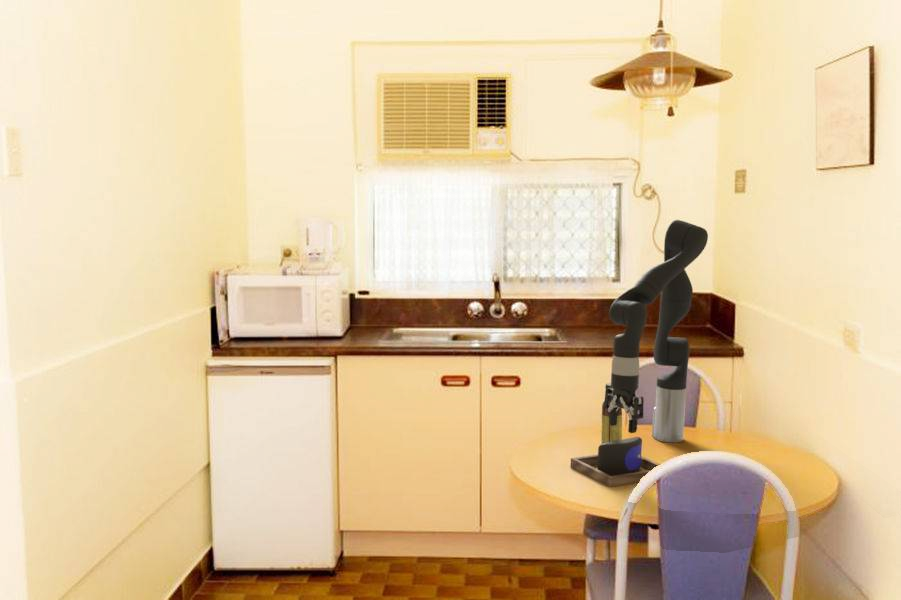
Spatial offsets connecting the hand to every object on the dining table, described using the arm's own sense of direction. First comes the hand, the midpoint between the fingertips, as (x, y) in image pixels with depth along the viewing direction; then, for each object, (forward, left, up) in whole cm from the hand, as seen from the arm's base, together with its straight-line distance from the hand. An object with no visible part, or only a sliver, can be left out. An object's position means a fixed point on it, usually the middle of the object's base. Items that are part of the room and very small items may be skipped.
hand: (622, 428), depth 236 cm
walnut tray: (0, 0, -13) cm, 13 cm away
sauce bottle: (-21, +13, -13) cm, 28 cm away
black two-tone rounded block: (0, 0, -13) cm, 13 cm away
